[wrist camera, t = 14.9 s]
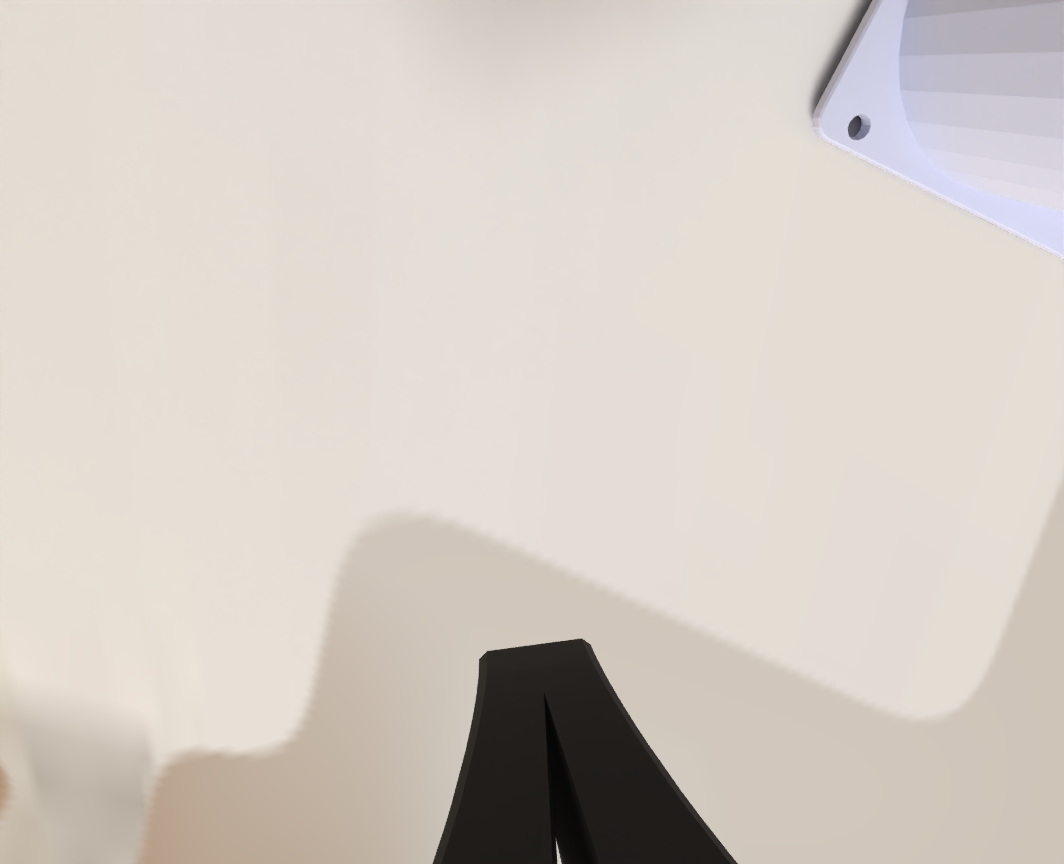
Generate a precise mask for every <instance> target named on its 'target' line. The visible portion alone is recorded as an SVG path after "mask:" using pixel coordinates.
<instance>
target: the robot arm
mask: <svg viewBox="0 0 1064 864" xmlns="http://www.w3.org/2000/svg"><path fill="white" fill-rule="evenodd" d="M855 116H859V117H860V118H861V122H862V126H861V129H860V131H859V133H858V134H857V135H856V136H855V137H852V138H851V137H850V136H849V135H848V126H849V123H850V121H851V120H852V119H853V118H854V117H855ZM812 126H813V129H814V131H815V134H816V135H817V136H818V137H820V138H821V139H822V140H824V141H826V142H828V143H830V144H832V145H834V146H836V147H838V148H840V149H842V150H844V151H846V152H848V153H850V154H852V155H854V156H856V157H858V158H860V159H862V160H864V161H866V162H868V163H870V164H872V165H874V166H876V167H878V168H880V169H882V170H884V171H886V172H888V173H890V174H893V175H895V176H897V177H899V178H901V179H903V180H905V181H907V182H909V183H911V184H913V185H915V186H917V187H919V188H921V189H923V190H925V191H927V192H929V193H931V194H933V195H935V196H937V197H939V198H941V199H943V200H945V201H947V202H949V203H951V204H953V205H955V206H957V207H959V208H961V209H963V210H965V211H967V212H969V213H971V214H973V215H975V216H977V217H979V218H981V219H983V220H985V221H987V222H989V223H991V224H993V225H995V226H997V227H999V228H1001V229H1003V230H1005V231H1007V232H1009V233H1011V234H1013V235H1015V236H1017V237H1019V238H1021V239H1023V240H1026V241H1028V242H1030V243H1032V244H1034V245H1036V246H1038V247H1040V248H1042V249H1044V250H1046V251H1048V252H1050V253H1052V254H1054V255H1056V256H1058V257H1060V258H1062V259H1064V0H872V2H871V4H870V6H869V8H868V10H867V12H866V13H865V15H864V17H863V19H862V21H861V23H860V25H859V27H858V29H857V31H856V32H855V34H854V36H853V38H852V40H851V42H850V44H849V46H848V48H847V49H846V51H845V53H844V55H843V57H842V59H841V61H840V63H839V65H838V67H837V68H836V70H835V72H834V74H833V76H832V78H831V80H830V82H829V84H828V85H827V87H826V89H825V91H824V93H823V95H822V97H821V99H820V101H819V103H818V104H817V106H816V108H815V111H814V114H813V117H812ZM556 841H557V845H558V849H559V853H560V858H561V862H562V864H737V862H736V861H735V860H734V859H733V857H732V856H731V855H730V854H729V853H728V851H727V850H726V849H725V847H724V846H723V845H722V844H721V842H720V841H719V840H718V838H716V836H715V835H714V833H713V832H712V831H711V830H710V828H709V827H708V826H707V825H706V823H705V822H704V821H703V820H702V818H701V817H700V816H699V814H698V813H697V812H696V810H695V809H694V808H693V806H692V805H691V804H690V802H689V801H688V800H687V798H686V797H685V796H684V794H683V793H682V792H681V790H680V789H679V787H678V786H677V785H676V783H675V782H674V780H673V779H672V778H671V776H670V775H669V773H668V772H667V770H666V769H665V767H664V766H663V765H662V763H661V762H660V760H659V759H658V758H657V756H656V755H655V753H654V752H653V750H652V749H651V748H650V746H649V745H648V743H647V742H646V740H645V739H644V737H643V736H642V734H641V733H640V731H639V730H638V728H637V727H636V725H635V724H634V722H633V720H632V719H631V717H630V715H629V714H628V712H627V711H626V709H625V707H624V706H623V704H622V703H621V701H620V699H619V698H618V696H617V694H616V693H615V691H614V689H613V687H612V686H611V684H610V683H609V681H608V679H607V677H606V675H605V673H604V671H603V669H602V668H601V666H600V664H599V662H598V660H597V658H596V656H595V654H594V652H593V649H592V647H591V645H590V644H589V643H587V642H586V641H585V640H583V639H575V640H568V641H560V642H552V643H545V644H537V645H530V646H523V647H515V648H508V649H500V650H493V651H487V652H486V653H485V654H484V655H483V656H482V657H481V658H480V659H479V679H478V687H477V695H476V702H475V708H474V713H473V719H472V724H471V729H470V733H469V738H468V742H467V747H466V752H465V755H464V759H463V763H462V767H461V770H460V774H459V778H458V782H457V785H456V789H455V793H454V797H453V801H452V805H451V808H450V811H449V815H448V818H447V822H446V825H445V828H444V831H443V834H442V837H441V840H440V843H439V846H438V849H437V852H436V855H435V859H434V861H433V864H557V851H556Z"/></svg>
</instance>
